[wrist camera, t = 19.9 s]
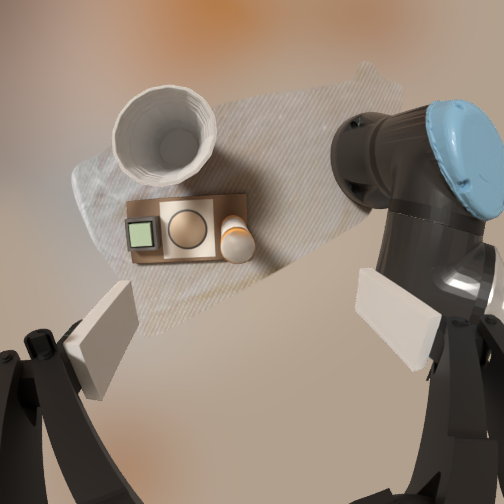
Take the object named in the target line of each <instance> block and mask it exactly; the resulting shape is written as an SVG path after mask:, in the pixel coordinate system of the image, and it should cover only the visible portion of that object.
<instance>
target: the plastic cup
mask: <svg viewBox="0 0 504 504" xmlns="http://www.w3.org/2000/svg"><path fill="white" fill-rule="evenodd" d="M216 138H217V129H216V120H215V115H214V113H213V111H212V110H211V108H210V106H209V105H208V103H207V102H206V100H205V99H204V98H203V97H201V96H200V95H198V94H197V93H195V92H194V91H192V90H191V89H189V88H185V87H180V86H175V85H164V86H158V87H153V88H149V89H147V90H145V91H144V92H142V93H140V94H139V95H137V96H135V97H134V98H132V99H131V100H130V101H129V102H128V103H127V105H126V106H125V107H124V108H123V110H122V111H121V112H120V114H119V115H118V117H117V120H116V123H115V126H114V129H113V132H112V146H113V155H114V157H115V159H116V160H117V162H118V164H119V166H120V168H121V170H122V171H123V172H124V173H125V174H127V175H128V176H129V177H131V178H132V179H133V180H135V181H136V182H137V183H140V184H145V185H150V186H154V187H163V186H168V185H174V184H179V183H181V182H183V181H184V180H186V179H188V178H189V177H191V176H193V175H194V174H196V173H198V171H199V170H200V169H201V168H202V166H203V165H204V164H205V163H206V161H207V160H208V159H209V158H210V156H211V154H212V151H213V148H214V144H215V141H216Z"/></svg>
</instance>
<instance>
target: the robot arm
mask: <svg viewBox="0 0 504 504" xmlns="http://www.w3.org/2000/svg"><path fill="white" fill-rule="evenodd" d="M331 166H332V170H333V174H334V176H335V179H336V181H337V183H338V185H339V186H340V188H341V189H342V191H343V192H344V193H345V194H346V195H347V196H348V197H349V198H350V199H351V200H353V201H354V202H356V203H358V204H360V205H362V206H365V207H369V208H374V209H386V208H389V210H388V214H387V220H386V225H385V231H384V235H383V240H382V245H381V249H380V254H379V258H378V262H377V266H376V270H374V269H372V268H360V272H359V282H358V290H357V298H356V306H355V311H356V312H357V313H358V314H359V315H360V316H361V317H362V318H363V319H364V320H365V321H366V322H367V323H368V324H369V325H370V327H371V328H372V329H373V330H374V331H375V332H376V333H377V334H378V335H379V336H380V337H381V338H382V339H383V340H384V341H385V342H386V343H387V344H388V346H390V348H391V349H392V350H393V351H394V352H395V353H396V354H397V355H398V356H399V357H400V358H401V359H402V361H403V362H404V363H405V364H406V365H407V366H408V367H409V368H410V369H411V370H412V371H413V372H414V371H418V370H420V369H423V368H425V367H426V364H427V361H428V358H431V359H433V361H434V362H433V364H432V367H431V369H430V372H429V375H428V377H427V379H426V380H427V381H428V380H429V378H430V386H429V395H428V403H427V410H426V416H425V422H424V428H423V433H422V438H421V443H420V448H419V452H418V456H417V460H416V464H415V468H414V472H413V475H412V478H411V481H410V484H409V486H408V488H407V490H406V491H405V493H404V494H397V495H396V494H395V495H392V493H391V491H390V489H389V488H388V489H385V490H383V491H381V492H378V493H375V494H373V495H370V496H367V497H364V498H361V499H359V500H356V501H353V502H351V503H350V504H495V498H496V489H497V475H498V479H499V484H500V488H501V491H502V494H503V497H504V263H503V261H502V259H501V256H500V254H499V252H498V250H497V248H496V247H495V246H492V245H489V244H486V243H483V242H482V241H483V237H482V236H483V234H484V229H485V223H486V221H488V220H491V219H494V218H496V217H498V216H499V215H500V214H501V213H502V211H503V209H504V206H503V205H504V145H503V143H502V140H501V138H500V136H499V134H498V131H497V129H496V128H495V126H494V125H493V123H492V122H491V120H490V119H489V117H488V116H487V115H486V114H485V113H484V112H483V111H482V110H481V109H480V108H478V107H477V106H476V105H474V104H473V103H470V102H468V101H465V100H448V101H435V102H433V103H431V104H429V105H426V106H422V107H419V108H415V109H412V110H409V111H406V112H402V113H399V114H396V115H393V116H391V115H387V114H382V113H377V112H367V113H361V114H359V115H356V116H354V117H351V118H350V119H348V120H346V121H345V122H344V123H343V124H342V125H341V126H340V127H339V129H338V130H337V132H336V134H335V136H334V138H333V141H332V145H331ZM394 212H395V213H394ZM399 213H401V214H399ZM403 214H404V215H403ZM407 215H408V216H407ZM411 216H412V217H411ZM415 217H416V218H415ZM419 218H420V219H419ZM423 219H424V220H423ZM427 220H428V221H427ZM430 221H431V222H430ZM434 222H435V223H434ZM438 223H439V224H438ZM445 225H446V226H445ZM452 227H453V228H452ZM462 230H463V231H462ZM138 325H139V321H138V317H137V312H136V307H135V302H134V296H133V291H132V285H131V281H118V282H117V283H116V284H115V285H114V286H113V287H112V288H111V289H110V291H109V292H108V293H107V294H106V295H105V296H104V297H103V298H102V299H101V300H100V301H99V302H98V304H97V305H96V306H95V307H94V308H93V309H92V310H91V311H90V312H89V314H88V315H87V316H86V317H85V318H84V319H83V320H80V321H78V322H76V323H75V324H73V325H72V326H71V327H70V329H69V330H68V331H67V332H66V333H65V334H64V336H63V337H62V338H61V339H60V340H59V341H58V342H57V344H56V342H55V340H54V337H53V334H52V332H51V331H50V330H48V329H38V330H35V331H32V332H31V333H29V334H28V335H27V336H26V337H25V338H24V343H25V346H26V348H27V350H28V353H29V355H30V358H31V360H20V358H19V355H18V353H17V352H16V351H14V350H8V351H3V352H1V353H0V504H48V500H47V495H46V487H45V479H44V469H43V454H42V415H43V419H44V422H45V426H46V429H47V433H48V436H49V439H50V442H51V445H52V448H53V451H54V453H55V456H56V459H57V461H58V464H59V466H60V469H61V471H62V474H63V476H64V478H65V481H66V483H67V485H68V487H69V489H70V491H71V493H72V496H73V498H74V499H75V502H76V503H77V504H144V503H143V502H142V500H141V499H140V498H139V497H138V495H137V494H136V493H135V492H134V490H133V489H132V487H131V486H130V485H129V483H128V482H127V481H126V479H125V478H124V476H123V475H122V473H121V472H120V471H119V469H118V467H117V466H116V464H115V463H114V461H113V459H112V458H111V456H110V455H109V453H108V451H107V450H106V448H105V446H104V445H103V443H102V441H101V439H100V437H99V436H98V434H97V432H96V430H95V428H94V426H93V425H92V422H91V420H90V418H89V416H88V415H87V412H86V410H85V408H84V407H83V404H82V402H81V400H80V398H79V396H78V393H79V392H80V390H81V388H82V391H83V393H84V395H85V397H86V399H92V400H98V401H102V399H103V397H104V395H105V393H106V391H107V388H108V386H109V384H110V382H111V380H112V377H113V376H114V373H115V371H116V369H117V367H118V365H119V363H120V361H121V359H122V357H123V355H124V353H125V350H126V349H127V347H128V345H129V343H130V341H131V339H132V337H133V335H134V333H135V331H136V329H137V327H138ZM490 354H491V359H490V362H489V361H488V358H489V356H490ZM487 431H488V435H489V438H487Z"/></svg>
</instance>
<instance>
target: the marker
mask: <svg viewBox="0 0 504 504" xmlns="http://www.w3.org/2000/svg"><path fill="white" fill-rule="evenodd" d="M254 252H255V242H254V239H253V238H252V236H251V234H250V233H249V231H248V229H247V227H246V225H245V223H244V221H243V219H242V218H241V217H239V216H237V215H230V216H227V217H226V218H225V219H224V220H223V221H222V224H221V253H222V255H223V257H224V258H225V259H226V260H227V261H229V262H230V263H233V264H242V263H245V262H247V261H248V260H250V259H251V257H252V256H253V254H254Z"/></svg>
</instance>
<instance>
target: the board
mask: <svg viewBox="0 0 504 504" xmlns="http://www.w3.org/2000/svg"><path fill="white" fill-rule="evenodd" d="M126 206H127V219H125V229H126V238H127V247H128V251H131V256H132V263H153V262H176V261H199V260H220V259H225V258H224V257H223V255H222V253H221V224H222V221H223V220H224V219H225V218H226V217H227V216H230V215H237V216H239V217H241V218H242V219H243V221H244V223H245V225H246V227H247V229H248V225H247V194H224V195H203V196H186V197H171V198H158V199H146V200H135V201H127V202H126ZM148 221H152V223H153V234H154V244H153V245H152V246H137V247H131V240H130V231H129V225H130V224H132V223H134V222H148Z"/></svg>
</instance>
